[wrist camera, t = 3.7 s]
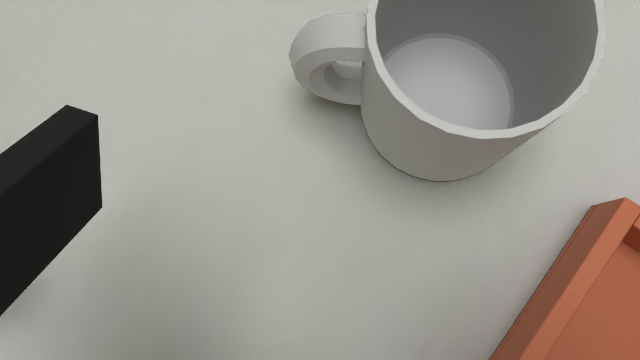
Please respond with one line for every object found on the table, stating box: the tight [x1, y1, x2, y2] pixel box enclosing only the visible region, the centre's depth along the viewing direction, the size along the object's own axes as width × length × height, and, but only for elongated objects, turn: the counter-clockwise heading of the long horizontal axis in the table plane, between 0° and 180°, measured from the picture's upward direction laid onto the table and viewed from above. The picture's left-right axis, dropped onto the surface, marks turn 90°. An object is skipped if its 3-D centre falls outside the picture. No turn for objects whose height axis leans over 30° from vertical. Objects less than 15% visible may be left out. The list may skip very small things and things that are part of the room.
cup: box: [289, 0, 607, 181], centre depth 22 cm, size 7×10×9 cm
